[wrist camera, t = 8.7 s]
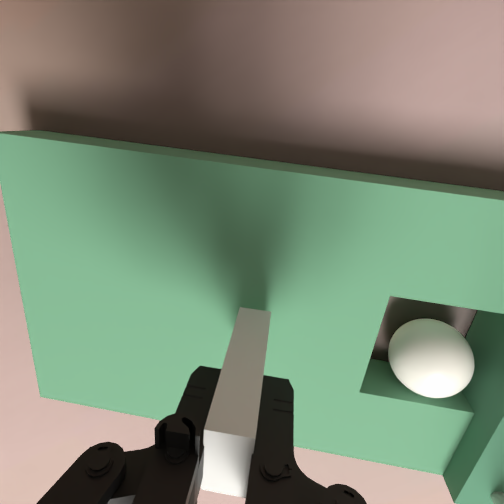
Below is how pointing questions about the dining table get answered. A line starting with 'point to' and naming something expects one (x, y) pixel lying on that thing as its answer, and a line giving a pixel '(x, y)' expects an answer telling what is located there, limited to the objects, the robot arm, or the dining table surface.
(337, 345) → the putting mat
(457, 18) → the dining table surface
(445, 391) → the ball
